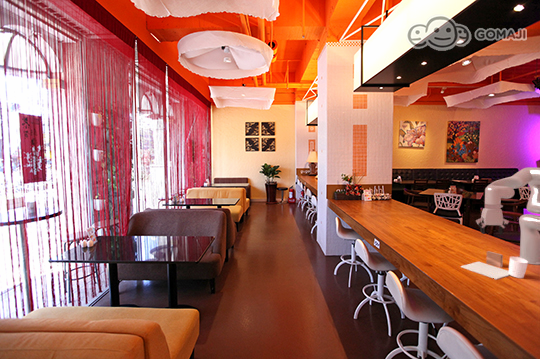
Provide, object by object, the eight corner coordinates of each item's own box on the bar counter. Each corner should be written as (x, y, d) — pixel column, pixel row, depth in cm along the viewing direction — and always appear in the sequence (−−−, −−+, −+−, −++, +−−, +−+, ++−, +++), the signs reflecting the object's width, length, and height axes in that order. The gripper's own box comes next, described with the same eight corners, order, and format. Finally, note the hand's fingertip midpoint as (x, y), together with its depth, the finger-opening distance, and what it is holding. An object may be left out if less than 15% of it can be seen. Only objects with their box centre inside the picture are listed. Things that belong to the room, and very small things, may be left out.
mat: (478, 262, 179) (478, 261, 179) (514, 273, 161) (514, 272, 161) (460, 267, 173) (460, 266, 173) (496, 279, 154) (496, 278, 154)
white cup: (507, 270, 163) (509, 255, 162) (524, 275, 158) (527, 259, 157) (507, 275, 157) (510, 259, 156) (525, 280, 152) (528, 264, 151)
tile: (488, 262, 178) (488, 251, 178) (502, 267, 171) (502, 254, 170) (486, 263, 178) (486, 251, 177) (500, 267, 170) (500, 255, 170)
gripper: (504, 205, 167) (504, 232, 169) (473, 205, 171) (472, 231, 172) (512, 208, 160) (511, 235, 161) (479, 207, 164) (479, 235, 165)
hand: (491, 233), depth 167 cm, fingers open, 9 cm apart
